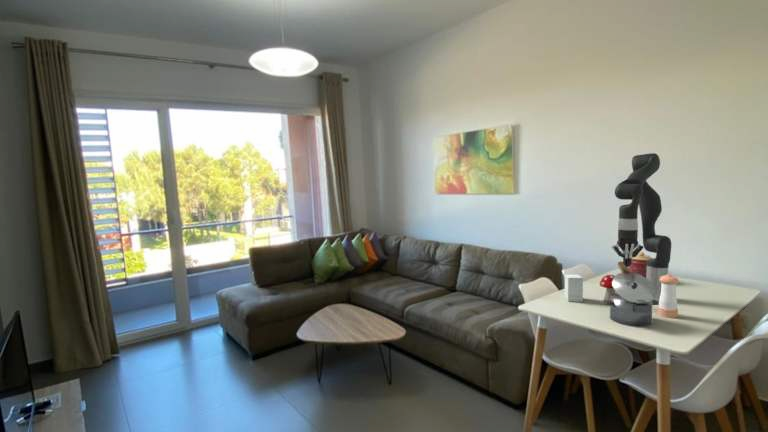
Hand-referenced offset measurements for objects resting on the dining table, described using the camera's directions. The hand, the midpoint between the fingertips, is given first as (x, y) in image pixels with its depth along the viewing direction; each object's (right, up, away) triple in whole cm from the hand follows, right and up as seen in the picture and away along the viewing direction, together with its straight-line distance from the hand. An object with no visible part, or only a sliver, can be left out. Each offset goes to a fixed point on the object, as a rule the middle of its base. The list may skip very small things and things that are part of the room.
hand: (627, 266), depth 180 cm
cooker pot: (0, -24, -3) cm, 24 cm away
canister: (+44, -17, +59) cm, 75 cm away
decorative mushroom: (+4, -22, +20) cm, 30 cm away
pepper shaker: (+20, -23, +2) cm, 31 cm away
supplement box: (-10, -22, +30) cm, 38 cm away
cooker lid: (0, -7, -3) cm, 8 cm away
